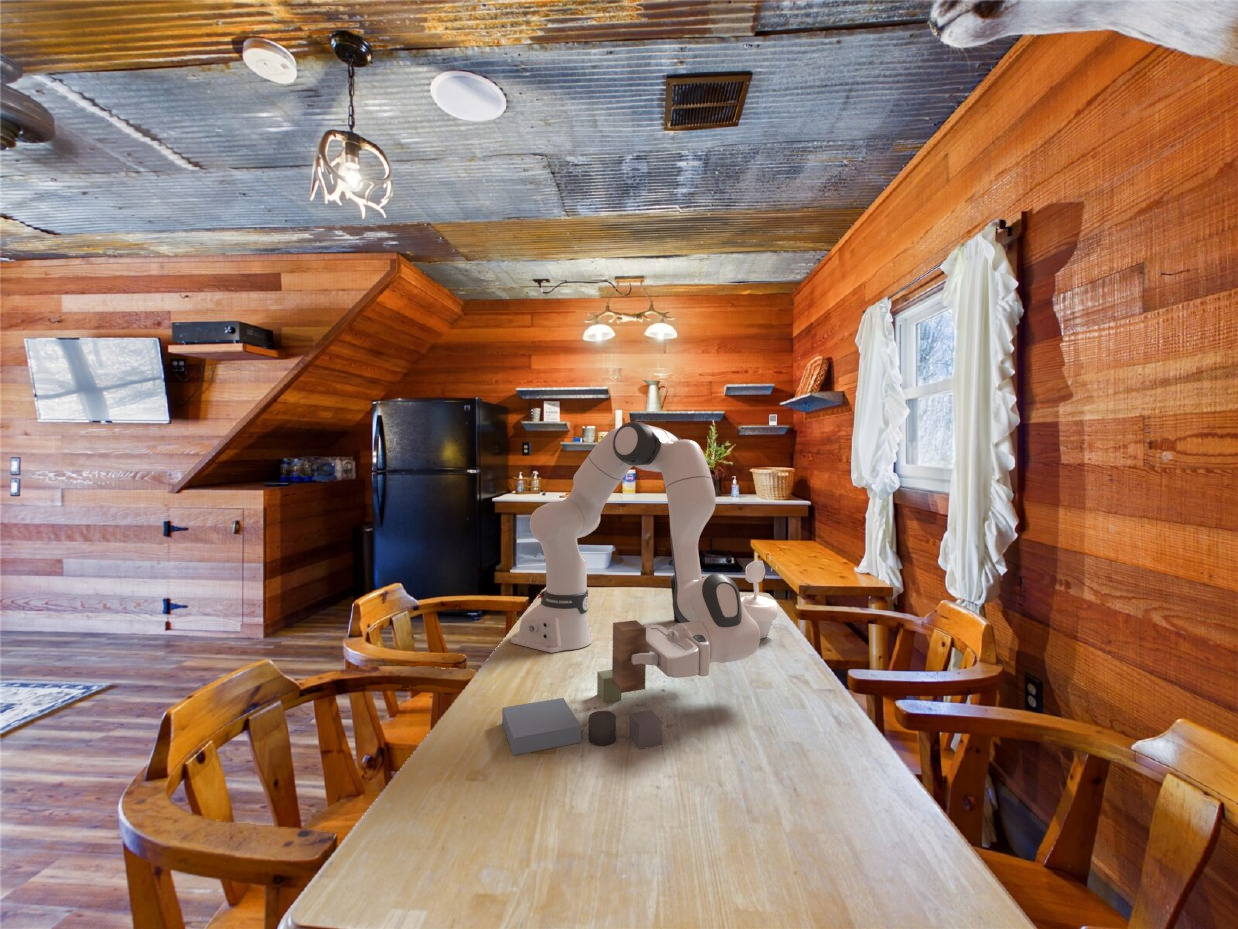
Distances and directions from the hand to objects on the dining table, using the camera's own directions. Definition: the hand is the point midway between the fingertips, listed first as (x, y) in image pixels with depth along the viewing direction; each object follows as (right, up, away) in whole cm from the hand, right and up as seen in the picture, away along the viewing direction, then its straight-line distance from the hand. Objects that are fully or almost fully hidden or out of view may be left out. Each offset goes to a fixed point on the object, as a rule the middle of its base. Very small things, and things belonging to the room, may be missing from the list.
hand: (624, 652), depth 106 cm
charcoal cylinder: (-4, -13, -8) cm, 16 cm away
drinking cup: (+18, -12, +62) cm, 66 cm away
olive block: (-3, -13, +9) cm, 16 cm away
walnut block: (+1, -7, 0) cm, 7 cm away
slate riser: (-16, -13, -6) cm, 21 cm away
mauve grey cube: (+4, -13, -9) cm, 16 cm away
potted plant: (+38, -12, +49) cm, 64 cm away
